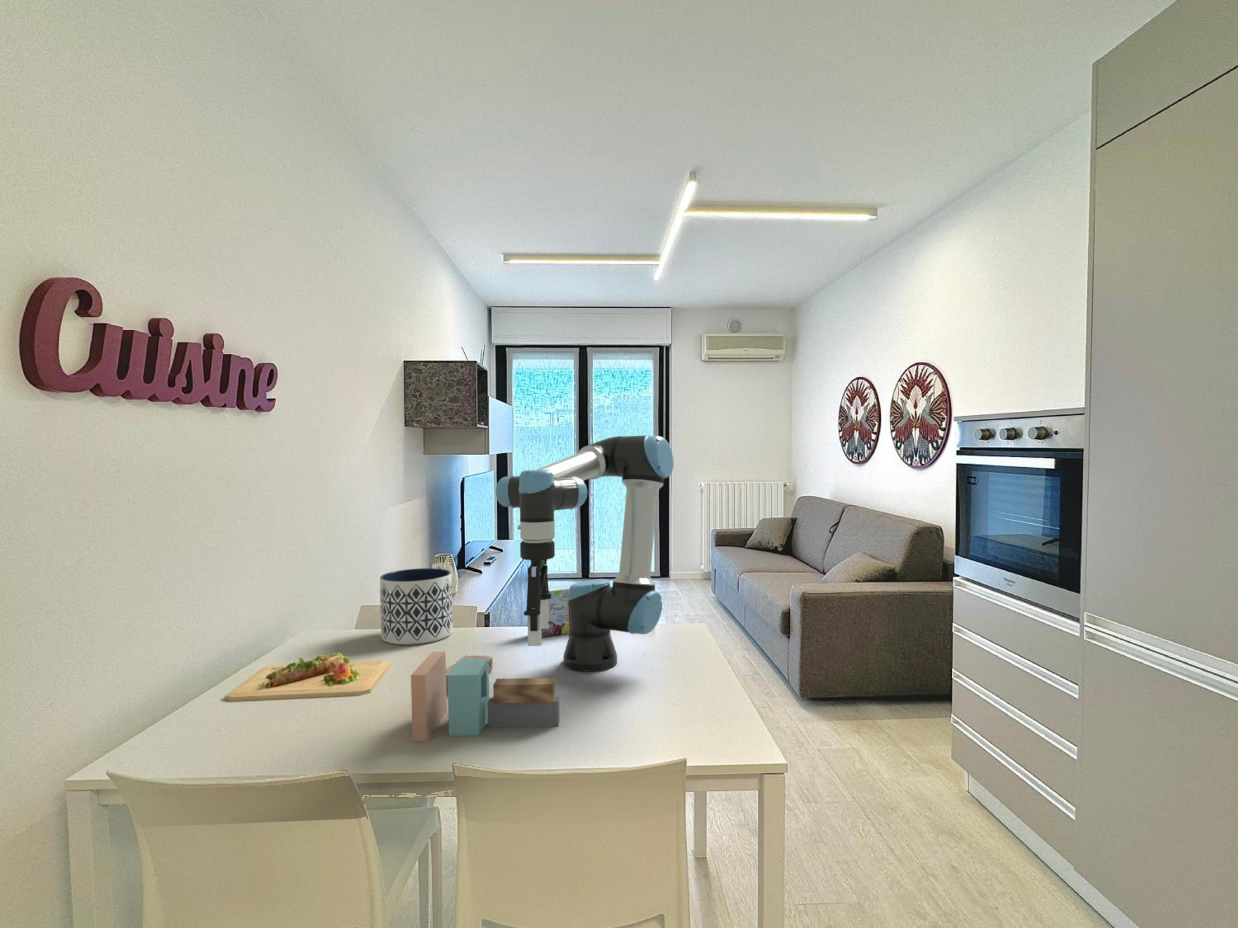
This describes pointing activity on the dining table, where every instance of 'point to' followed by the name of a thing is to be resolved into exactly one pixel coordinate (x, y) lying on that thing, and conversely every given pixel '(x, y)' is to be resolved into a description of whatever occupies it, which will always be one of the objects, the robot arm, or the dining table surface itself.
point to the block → (468, 696)
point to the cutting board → (312, 679)
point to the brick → (468, 658)
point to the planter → (416, 606)
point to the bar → (524, 690)
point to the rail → (523, 714)
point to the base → (428, 695)
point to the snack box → (557, 611)
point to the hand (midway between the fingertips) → (538, 636)
